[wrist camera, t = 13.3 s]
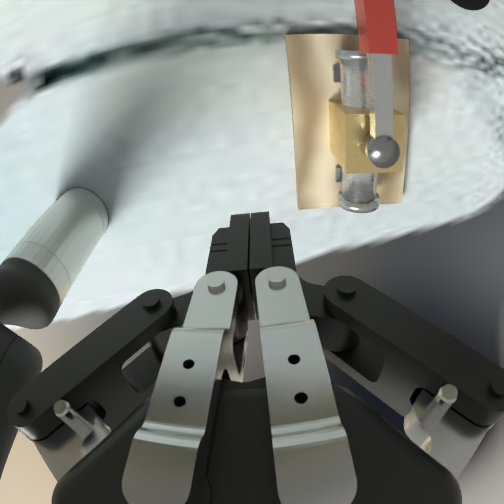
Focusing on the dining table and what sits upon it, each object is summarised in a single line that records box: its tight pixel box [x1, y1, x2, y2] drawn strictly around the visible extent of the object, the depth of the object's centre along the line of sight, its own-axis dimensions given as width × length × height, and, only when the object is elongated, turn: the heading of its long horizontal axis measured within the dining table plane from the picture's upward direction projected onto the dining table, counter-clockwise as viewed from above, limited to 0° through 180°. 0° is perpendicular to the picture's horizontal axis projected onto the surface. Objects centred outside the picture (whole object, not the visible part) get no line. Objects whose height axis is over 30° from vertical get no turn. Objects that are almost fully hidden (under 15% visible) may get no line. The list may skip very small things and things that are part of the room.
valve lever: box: [354, 0, 400, 168], centre depth 24 cm, size 17×3×3 cm, turn 8°
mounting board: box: [285, 34, 410, 210], centre depth 37 cm, size 15×23×2 cm, turn 6°
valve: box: [328, 50, 405, 213], centre depth 33 cm, size 6×19×8 cm, turn 6°
